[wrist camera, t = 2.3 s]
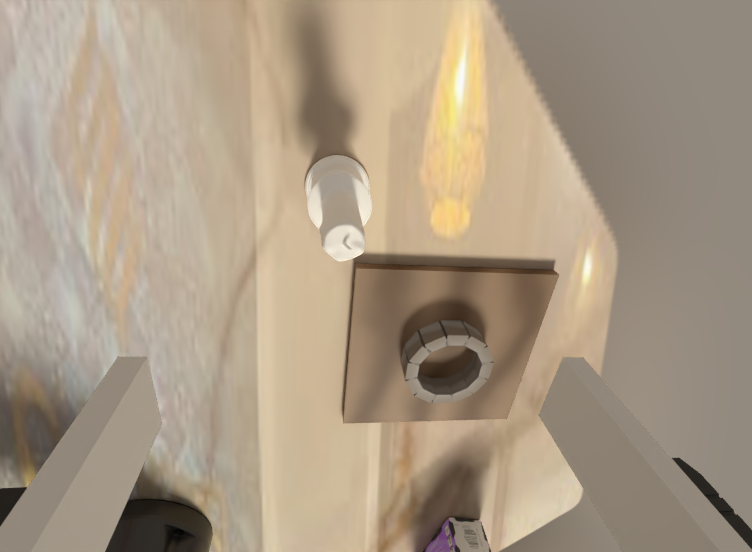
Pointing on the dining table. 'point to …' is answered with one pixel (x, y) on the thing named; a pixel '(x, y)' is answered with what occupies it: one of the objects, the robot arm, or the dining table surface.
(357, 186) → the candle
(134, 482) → the robot arm
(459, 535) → the candy box
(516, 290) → the flange board
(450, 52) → the dining table surface
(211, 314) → the dining table surface
